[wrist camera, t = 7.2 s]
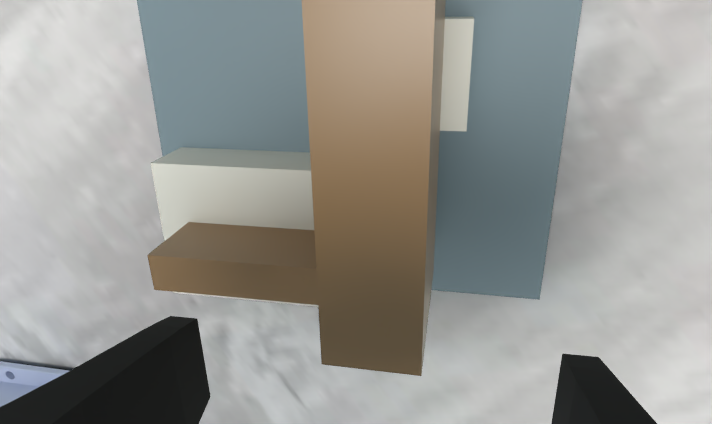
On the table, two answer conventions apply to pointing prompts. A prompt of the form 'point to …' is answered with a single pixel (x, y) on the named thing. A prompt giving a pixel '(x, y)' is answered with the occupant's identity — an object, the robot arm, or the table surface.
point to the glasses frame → (347, 192)
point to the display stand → (291, 130)
